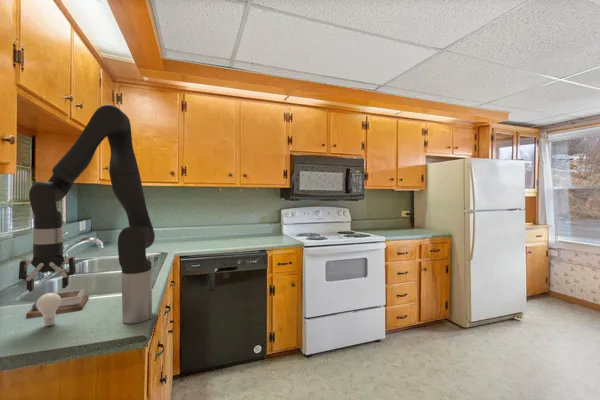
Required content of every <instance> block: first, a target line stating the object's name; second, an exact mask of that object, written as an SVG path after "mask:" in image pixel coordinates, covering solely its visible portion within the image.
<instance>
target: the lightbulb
mask: <svg viewBox="0 0 600 400" xmlns="http://www.w3.org/2000/svg"><path fill="white" fill-rule="evenodd" d="M56 293H57V292H48V293H44V294H42V295H41V296H40V297H39V298H38V299H37V300H38V301H37V300H36V301H37V303H36V307H37V309H38V310H39V311H40V312H41V313H42V315H43V316H42V318H43V320H44V321H43V324H44V326H45V327H51V326H53V325H54V324H55V316H56V315H57V314H56V311H57V309H58V308H59V306H60V304H61V297H60V296H59V295H58V294H56Z"/></svg>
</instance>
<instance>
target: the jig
mask: <svg viewBox="0 0 600 400" xmlns="http://www.w3.org/2000/svg"><path fill="white" fill-rule="evenodd" d="M55 293H56V294H58V295H59V296H60V297H61V304H60V306H59V308H58V309H57V311H56V314H55V315H58V314H64V313H70V312H76V311H82V310H83V309H84V307H85V306H86V303H87V302H88V300H89V299H90V297H89V294H86V289H85V288H82V289H76V290H66V291H57V292H55ZM37 301H38V299H37V300H36V301H35V302H34V303H33V304H32V307H31V309H29V311H27V313H26V314H25V317H26V319H30V318H37V317H38V318H39V317H43V315H42V313H41V312H40V311H39V310H38V309H37V307H36V303H37Z"/></svg>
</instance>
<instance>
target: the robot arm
mask: <svg viewBox="0 0 600 400" xmlns="http://www.w3.org/2000/svg"><path fill="white" fill-rule="evenodd" d="M106 138H107V140H108V144H109V148H110V158H109V167H108V173H109V174H108V175H109V180H110V184H111V187H112V188H111V189H112V191H113V194H114V196H115V197H116V200H118V202H119V203H120V205H121V206H122V208H123V209H124V211H125V213H126V216H127V219H128V226H127V227H124V228H123V229H122V230H121V231H120V232H119V234H118V238H117V255H118V263H119V266H120V268H121V309H122V310H121V311H122V312H121V317H122V318H121V319H122V320H121V321H122V323H124V324H127V325H129V324H132V325H133V324H139V323H142V322H143V323H144V322H146V321H148V320H152V319H153V291H152V290H153V289H152V288H153V287H152V285H153V284H152V261H151V260H150V259H148V258H147V251H146V250H147V249H148V248H150V247H151V246H152V245H153V244H154V242H155V239H156V237H155V230H154V227H153V224H152V222H151V221H152V220H151V217H150V215H149V212H148V209H147V203H146V199H145V194H144V190H143V189H144V188H143V183H142V179H141V178H142V177H141V175H140V169H139V166H138V162H137V158H136V154H135V151H134V146H133V138H132V125H131V121H130V118H129V117H128V115H127V114H126V113H125V112H124V111H122V109H120V108H119V107H117V106H115V105H113V104H104V105H101V106H99V107H98V108H96V110H95V111H94V112H93V114H92V116H91V118H90V119H89V121H88V123H87V124H86V125H85V127H84V129H83V130H82V132H81V133H80V134H79V136H78V137H77V138H76V140H75V142H74V143H73V145H71V147H70V148H69V149H68V151H67V152H66V153H65V154H64V155H63V156H62V157H61V158H60V159H59V161H58V162H57V163H56V164H55V165H54V166H53V168H52V169H51V171H52V175H51V176H50V178H49V179H48V180H47V181H37V182H35V183H33V184H32V186H31V187H30V188H29V191H28V192H29V193H28V198H29V202H30V207H31V210H32V213H33V216H34V217H33V234H32V260H30V259H29V260H28V259H22V260H21V261H20V262H19V268H18V279H19V280H23V281H26V290H27V291H28V292H29V293H31V292H33V291H34V290H35V277H36V275H37V274H38V273H42V274H43V273H53V272H55V271H56V272H57V274H59V275H61V277H62V279H61V281H62V284H61V289H66V288H67V287H68V286H69V282H70V281H69V279H70V276H74V274H75V273H76V259H75V256H70V257H64V255H63V254H64V252H63V251H64V250H63V249H64V247H63V246H64V245H63V244H64V232H63V218H62V217H63V216H62V212H61V211H59V210H58V207H57V202H59V201H61V200H63V199H64V198H65V197H66V196H67V195H68V193H69V191H70V190H71V189H72V187H73V185H74V183H75V181H76V180H77V179H78V177H80V176H81V175H82V173H83V172H84V171H85V170H86V169H87V167H88V166H89V165H90V163H91V161H92V160H93V157H94V155H95V152H96V151H97V149H98V147H99V145H100V144H101V143H102V142H103V141H104V140H105V139H106ZM64 263H66V264H67V265H68V268H69V269H68V270H69V271H68V270H66V268H65V267H64V265H62V264H64ZM30 265H32V266H33V267H34V269H33V270H32V271H31V272H30V274H27V273H28V270H27V269H28V268H29V266H30Z"/></svg>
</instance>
